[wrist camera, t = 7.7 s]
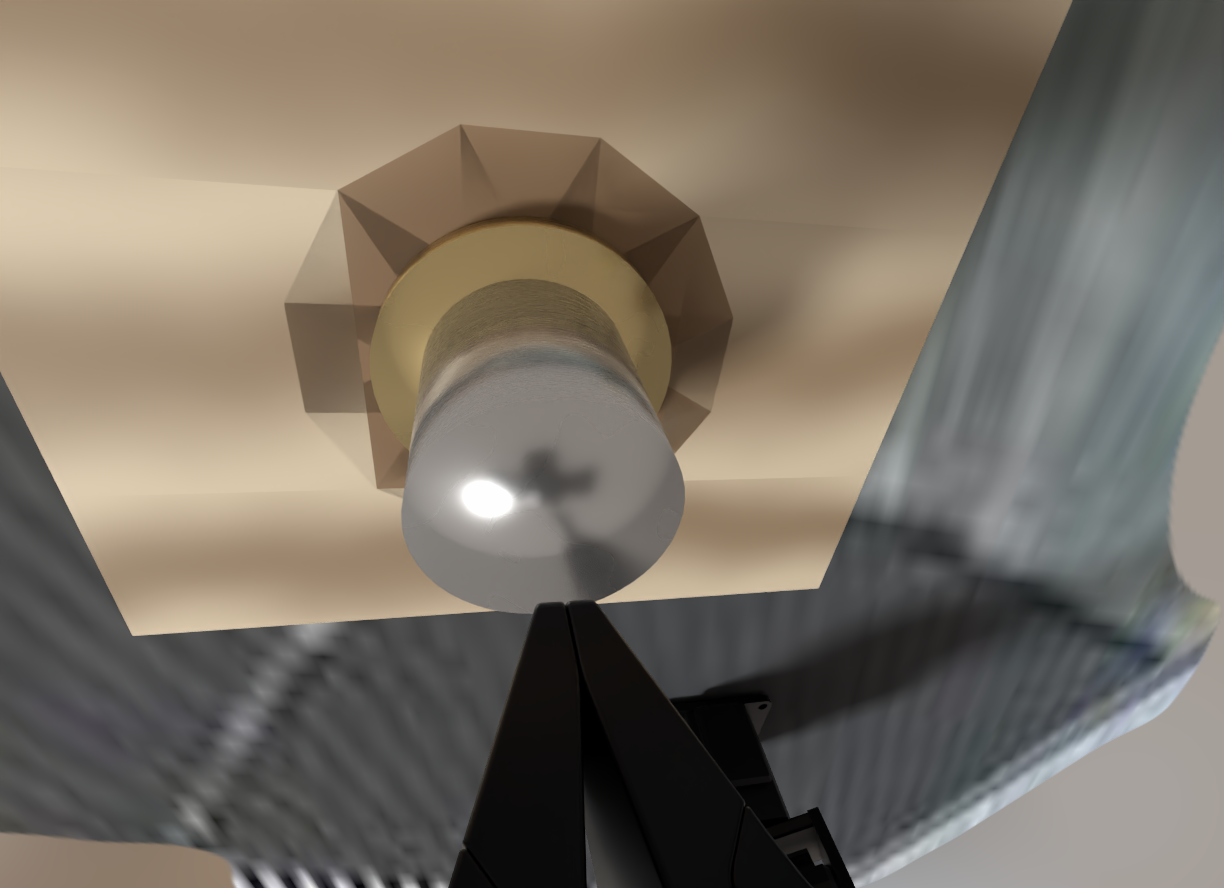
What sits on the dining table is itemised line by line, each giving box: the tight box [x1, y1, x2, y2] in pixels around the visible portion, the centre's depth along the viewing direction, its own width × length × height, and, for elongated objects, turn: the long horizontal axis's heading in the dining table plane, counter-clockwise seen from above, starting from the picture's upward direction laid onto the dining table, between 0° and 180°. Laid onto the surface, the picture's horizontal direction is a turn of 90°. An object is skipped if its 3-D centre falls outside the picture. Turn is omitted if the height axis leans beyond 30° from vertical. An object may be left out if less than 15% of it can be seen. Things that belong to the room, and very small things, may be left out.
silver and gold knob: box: [370, 216, 685, 614], centre depth 14 cm, size 7×7×9 cm
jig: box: [0, 0, 1073, 636], centre depth 17 cm, size 18×22×4 cm
